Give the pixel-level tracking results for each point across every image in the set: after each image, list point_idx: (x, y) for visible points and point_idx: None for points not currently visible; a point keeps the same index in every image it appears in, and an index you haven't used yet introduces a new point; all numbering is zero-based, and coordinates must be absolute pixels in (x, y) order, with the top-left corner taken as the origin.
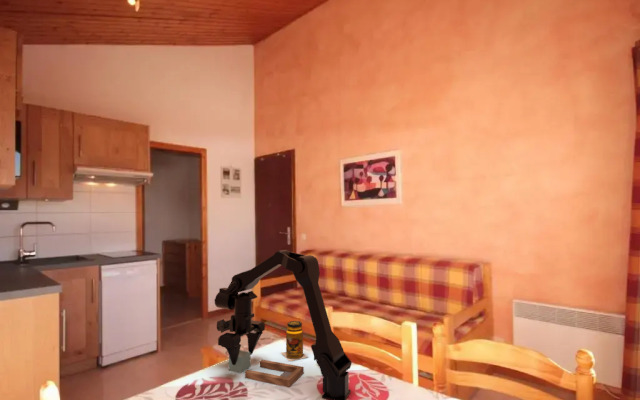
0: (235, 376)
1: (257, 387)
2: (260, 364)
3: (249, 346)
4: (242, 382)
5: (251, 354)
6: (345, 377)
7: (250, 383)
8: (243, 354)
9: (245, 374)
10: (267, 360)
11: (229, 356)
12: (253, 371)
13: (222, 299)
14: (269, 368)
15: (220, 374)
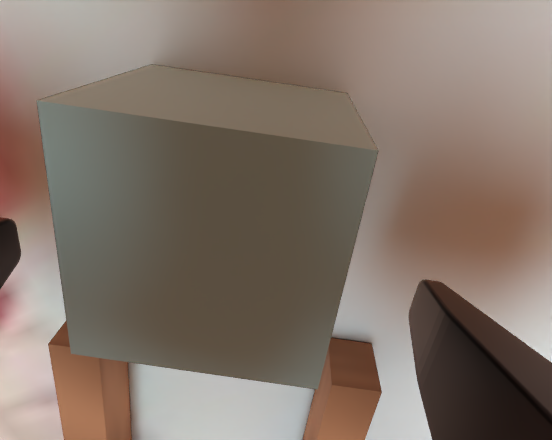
0: None
1: (10, 419)
2: (328, 364)
3: (471, 373)
4: (8, 311)
5: (410, 314)
6: None
7: (30, 366)
8: (193, 332)
9: (65, 327)
10: (361, 438)
11: (52, 109)
12: (89, 404)
13: None
14: (309, 415)
15: (17, 13)
